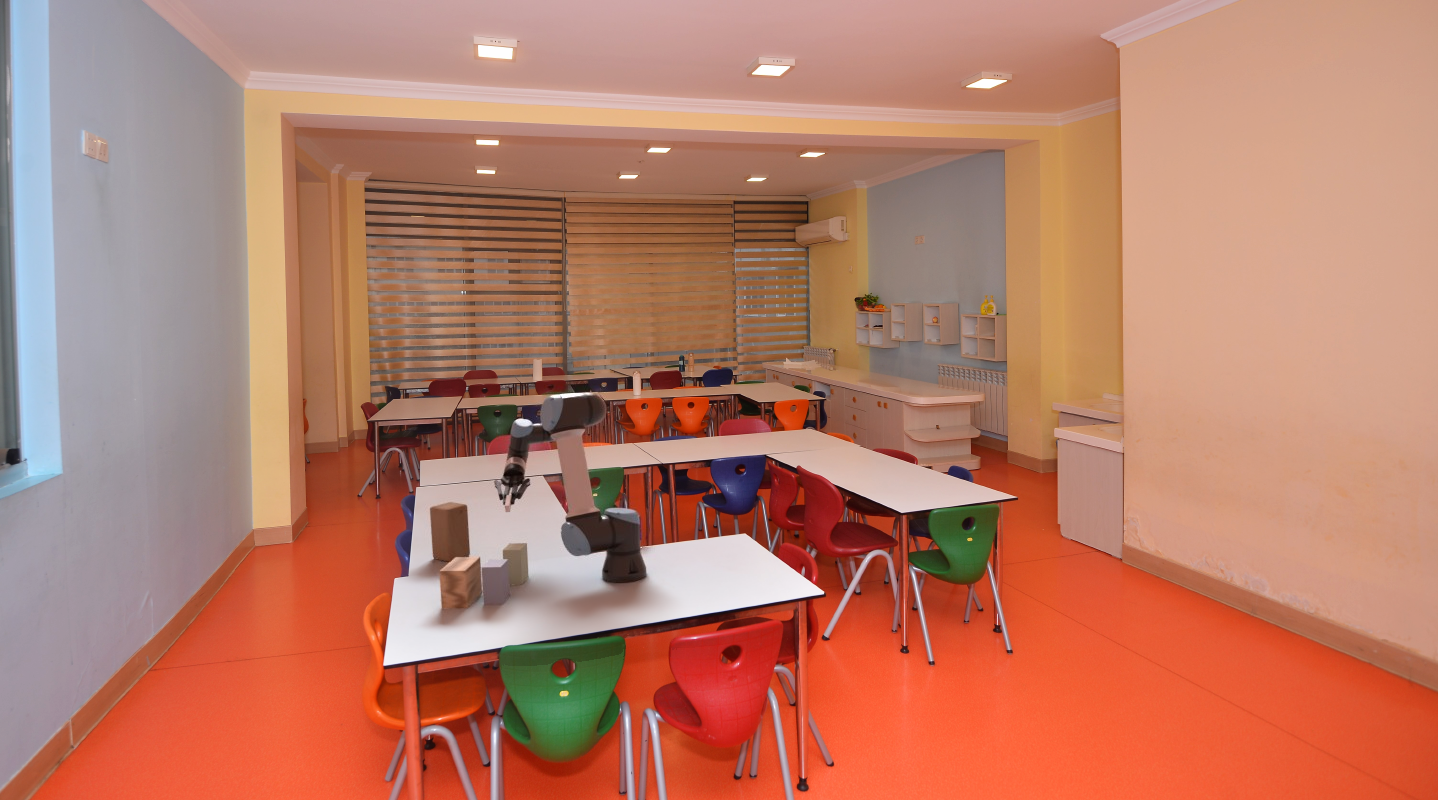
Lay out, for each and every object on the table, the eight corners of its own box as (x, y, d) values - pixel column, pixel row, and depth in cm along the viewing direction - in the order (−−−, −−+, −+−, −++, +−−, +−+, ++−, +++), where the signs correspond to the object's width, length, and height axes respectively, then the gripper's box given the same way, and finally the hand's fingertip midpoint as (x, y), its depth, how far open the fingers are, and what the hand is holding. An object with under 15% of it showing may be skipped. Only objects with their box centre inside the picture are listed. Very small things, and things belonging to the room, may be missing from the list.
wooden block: (471, 555, 296) (468, 504, 294) (449, 563, 288) (446, 509, 286) (453, 552, 301) (450, 501, 299) (431, 559, 293) (428, 506, 291)
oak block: (482, 592, 255) (480, 556, 254) (467, 608, 241) (465, 570, 240) (457, 593, 255) (455, 557, 254) (441, 608, 241) (439, 571, 240)
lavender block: (510, 595, 252) (508, 559, 251) (502, 604, 244) (500, 567, 243) (491, 595, 252) (489, 559, 251) (483, 604, 244) (481, 567, 243)
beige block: (528, 577, 270) (526, 543, 268) (522, 584, 262) (520, 549, 261) (511, 577, 270) (509, 543, 269) (504, 585, 262) (502, 550, 261)
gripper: (533, 478, 293) (527, 516, 273) (497, 481, 292) (489, 519, 271) (531, 461, 290) (525, 498, 269) (495, 464, 288) (486, 501, 268)
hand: (507, 508), depth 270 cm, fingers closed
